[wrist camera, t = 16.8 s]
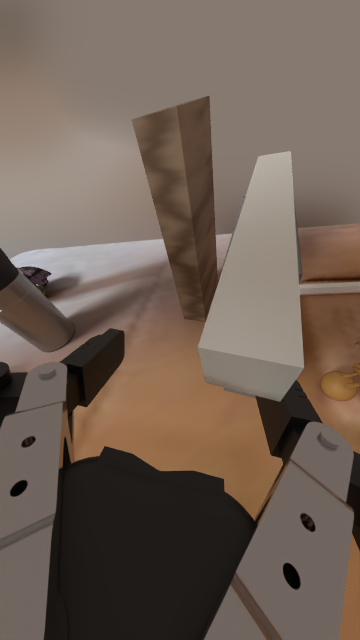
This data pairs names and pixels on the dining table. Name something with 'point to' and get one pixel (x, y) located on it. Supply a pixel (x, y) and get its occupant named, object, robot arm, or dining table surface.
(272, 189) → the bar
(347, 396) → the figurine
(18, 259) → the dining table surface
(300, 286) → the marker
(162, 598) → the robot arm
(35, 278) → the decorative flower
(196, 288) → the tall wooden block
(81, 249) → the dining table surface
